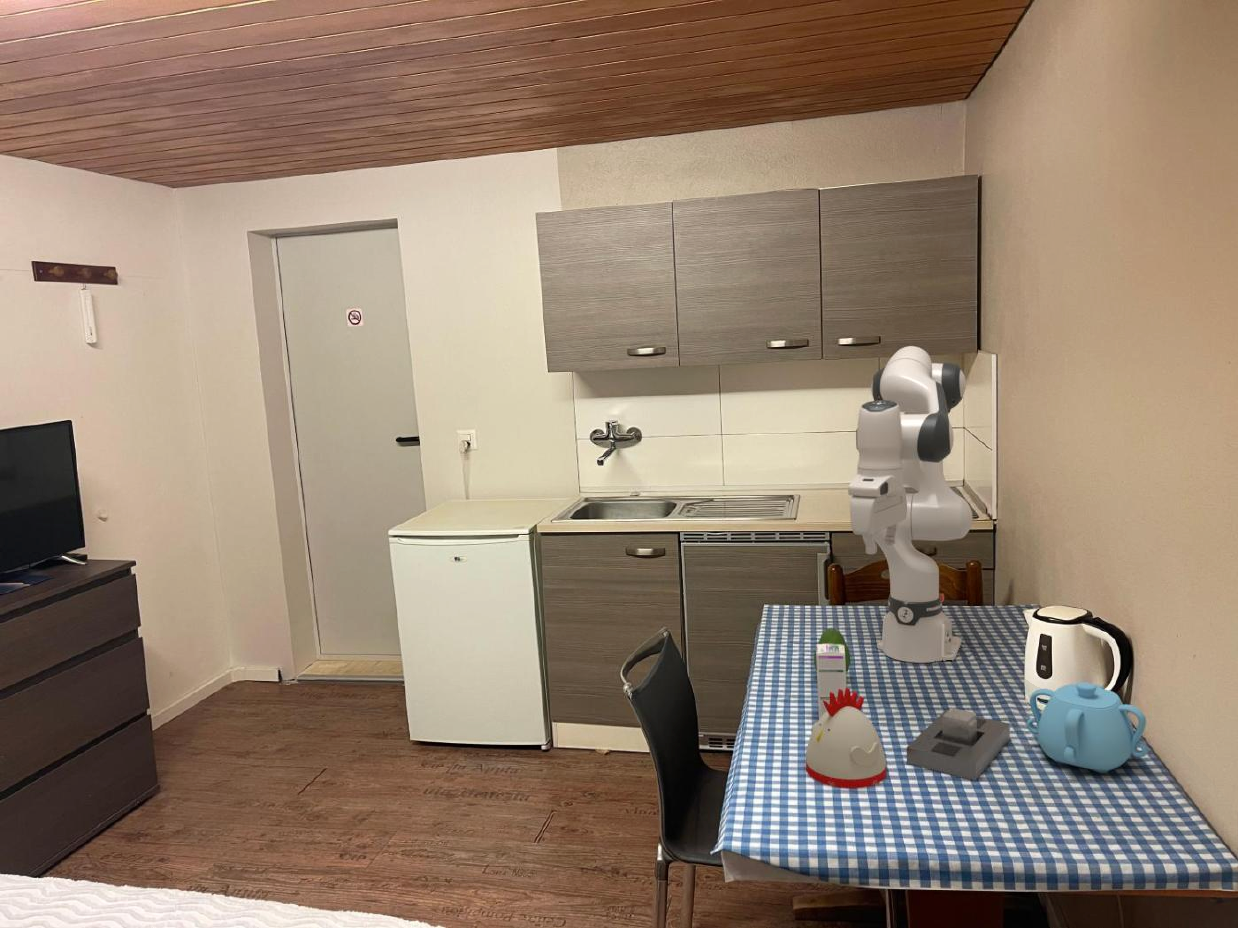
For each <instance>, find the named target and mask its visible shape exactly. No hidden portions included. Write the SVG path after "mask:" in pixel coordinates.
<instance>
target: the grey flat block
mask: <svg viewBox="0 0 1238 928" xmlns="http://www.w3.org/2000/svg"><path fill="white" fill-rule="evenodd" d="M947 711H948V710H947V709H946V710H944V711H943V712H941V714H940V715H939V716H938V717H936V718H935V719H934V720H933V722H931V724H929V725H928V726H927V727H926V728H925V729H924V730H923V731H922V732H921V733H920V734H919V735H918V736H917V737H916V738H915V739H914V740H913V741H911V743H910V744H908V746H907V747H906V764H908V765H911V766H915V765H916V766H915V767H919V768H923V767H924V768H923V769H928V770H931V769H932V770H931V771H935V772H939V773H942V772H945V773H944V774H946V773H948V774H947V775H950V774H952V776H954V775H955V777H959V778H963V779H966V780H970V781H971V780H972V781H974V782H975V781H977V780H978V779H979V777H980V776H981V775H982V774H983V772H984V771H986V769H987V767H988V766H989V765H990V764H991V763H992V762H993V760H994V759H995V758H996V757H997V755H998V754H999V753H1000V752H1001V751H1002V749H1003V748H1004V747H1005V745H1006V744H1007V743H1008V742H1009V740H1010V739H1011V737H1010V736H1011V732H1010V731H1011V729H1010V728H1011V724H1010V722H1004V721H999V720H994V719H989V718H986V717H980V716H976V720H977V743H976V744H975V745H974V746H973V747H972V746H968V745H963V744H959V743H954V742H950V741H946V740H942V719H943V715H944V714H945V713H946V712H947Z"/></svg>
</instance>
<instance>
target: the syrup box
mask: <svg viewBox="0 0 1238 928" xmlns="http://www.w3.org/2000/svg"><path fill="white" fill-rule="evenodd" d="M816 647H817V648H816ZM816 647H815V650H816V660H817V671H816V679H817V681H816V683H817V706H818V708H817V709H818V711H817V712H818V720H819V719H820V718H821V716H822V715H823V714H824V713H825V712H827V710H826V708H825V706H824V703H823V700H824V701H826V702H827V703H828V704H829V703H830V692H832V693H834V695H835V698H836V701H837V696H838V691H839V689H841V690H843V695H844V694H845V689H846V687H847V688H848V686H847V685H848V680H847V679H848V677H847V673H846V660H845V647H844V645H843V644H818V643H817V644H816Z"/></svg>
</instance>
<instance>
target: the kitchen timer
mask: <svg viewBox="0 0 1238 928" xmlns="http://www.w3.org/2000/svg"><path fill="white" fill-rule="evenodd" d="M857 699H858V700H857ZM864 701H865V697H863V696H859V698H858V692H856V691H853V692H852V694H851V689H850V688H849V687H848V686H847V687H846V689H845V694H844V695H843V690H841V689H839V691H838V696H837V701H836V698H835V695H834V693H832V692H830V703H829V704H828V703H827V702H826V701H824V700H823V703H824V706H825V708H826V710H827V712H825V713H824V714H823V715H822V716H821V718H820V719H819V718H818V721H816V722H815V723H813V724H812V726H811V731H810V732H811V734H810V737H809V740H808V743H807V747H806V751H805V772H806V773H807V775H809V777H810V778H812V779H813V780H815V782H819V783H820V784H824V785H826V786H830V787H834V788H841V789H862V788H868V787H872V786H874V785H877V784H880V783H881V782H882V781H884V780H885V778H886V775H887V759H886V755H885V752H884V749H883V745H882V741H881V739H880V736H879V734H878V732H877V730H876V728H875V726H874V724H873V723H872V722H871V720H870V719H869V718H868V717H867V716H866V714H865V713H864V712H862V711H861V710H862V708H863V704H864Z"/></svg>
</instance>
